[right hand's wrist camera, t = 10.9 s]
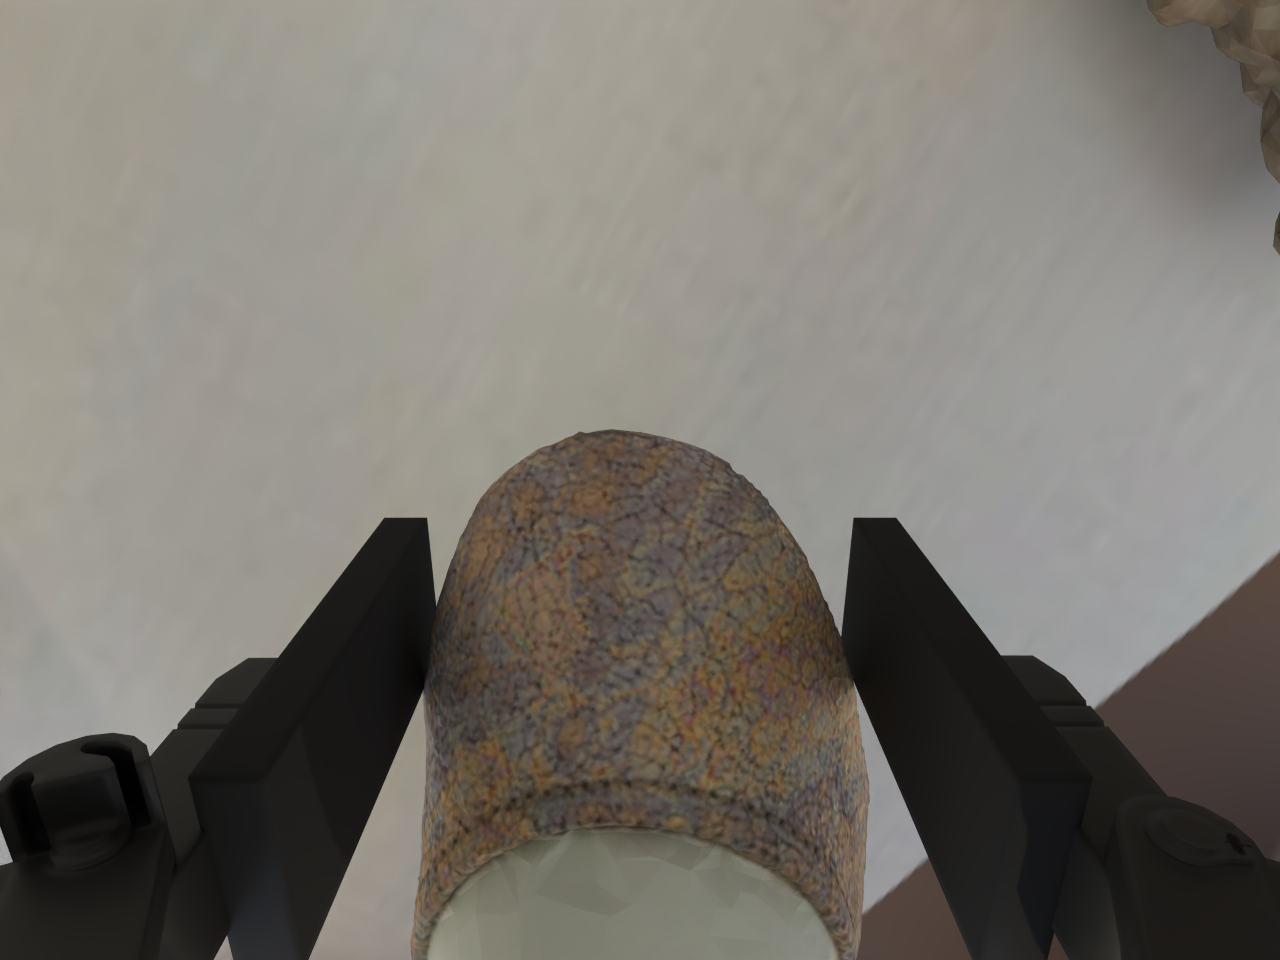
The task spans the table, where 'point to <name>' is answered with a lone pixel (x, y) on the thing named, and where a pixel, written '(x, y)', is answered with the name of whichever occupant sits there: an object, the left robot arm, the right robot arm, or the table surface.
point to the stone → (1243, 56)
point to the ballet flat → (637, 723)
